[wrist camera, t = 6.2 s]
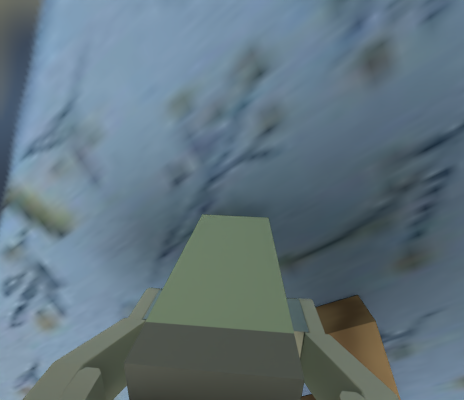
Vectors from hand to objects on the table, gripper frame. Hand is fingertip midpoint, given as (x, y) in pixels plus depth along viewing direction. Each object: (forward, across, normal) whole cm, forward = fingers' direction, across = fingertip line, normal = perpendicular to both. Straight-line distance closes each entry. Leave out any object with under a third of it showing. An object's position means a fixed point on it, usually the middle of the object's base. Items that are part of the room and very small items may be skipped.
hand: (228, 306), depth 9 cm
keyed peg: (+4, 0, 0) cm, 4 cm away
